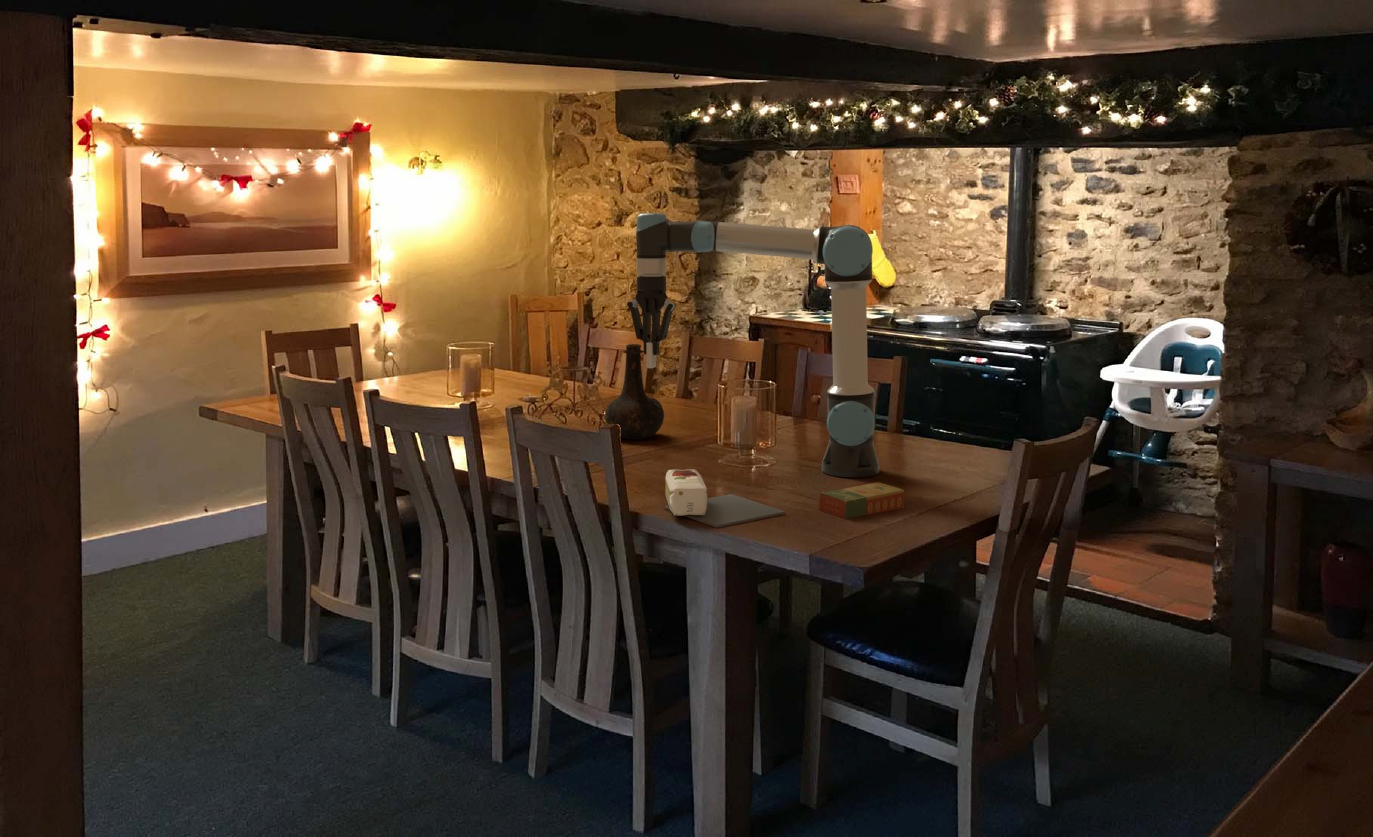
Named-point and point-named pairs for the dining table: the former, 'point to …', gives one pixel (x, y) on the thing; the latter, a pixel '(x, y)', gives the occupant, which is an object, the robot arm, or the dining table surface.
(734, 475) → the dining table surface
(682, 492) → the juice carton
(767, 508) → the mat
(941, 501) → the dining table surface
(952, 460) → the dining table surface
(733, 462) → the dining table surface
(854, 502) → the carton
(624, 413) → the glass bottle
